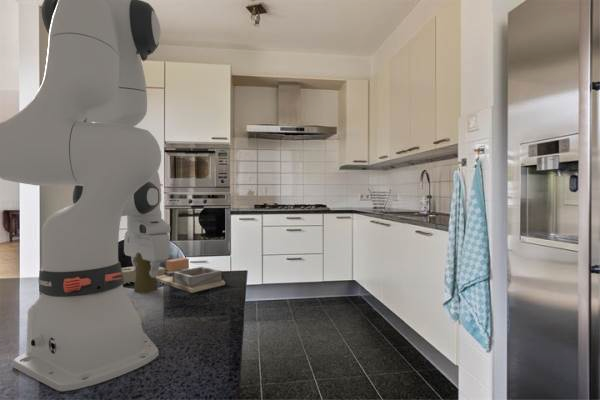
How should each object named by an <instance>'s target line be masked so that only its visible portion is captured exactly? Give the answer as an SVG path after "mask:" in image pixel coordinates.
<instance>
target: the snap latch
mask: <svg viewBox="0 0 600 400" xmlns="http://www.w3.org/2000/svg"><path fill="white" fill-rule="evenodd" d="M189 260H190V259H189V258H186V257H179V258H172V259H168V260H167V261H165V271H182V270H187V269H190V267H189V265H190V261H189Z"/></svg>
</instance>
